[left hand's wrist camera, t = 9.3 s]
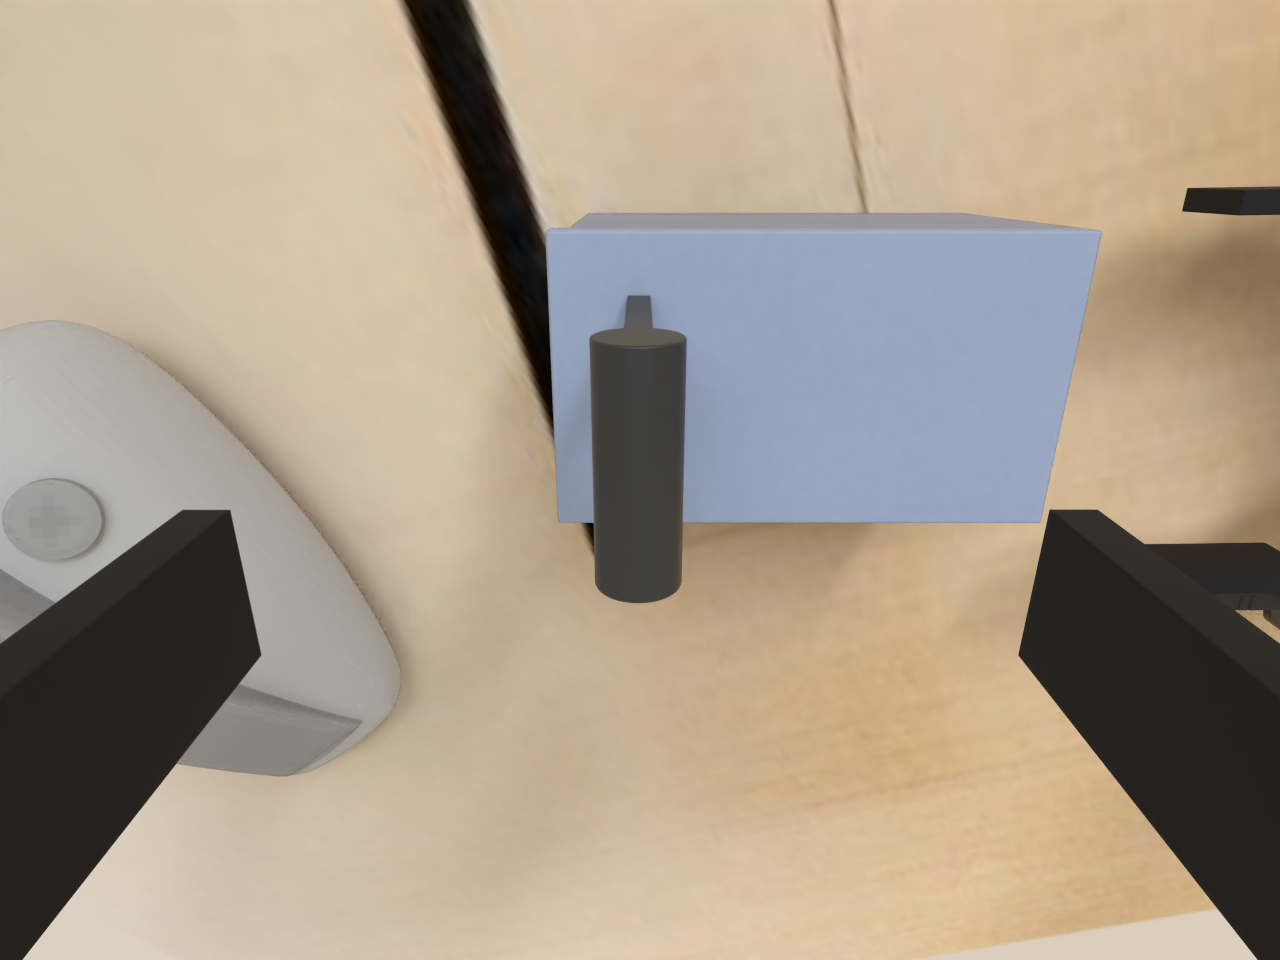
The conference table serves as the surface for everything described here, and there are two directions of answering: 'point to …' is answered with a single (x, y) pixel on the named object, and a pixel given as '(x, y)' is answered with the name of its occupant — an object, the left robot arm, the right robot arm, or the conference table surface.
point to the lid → (804, 379)
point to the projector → (147, 498)
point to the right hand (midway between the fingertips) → (1161, 401)
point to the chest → (801, 220)
